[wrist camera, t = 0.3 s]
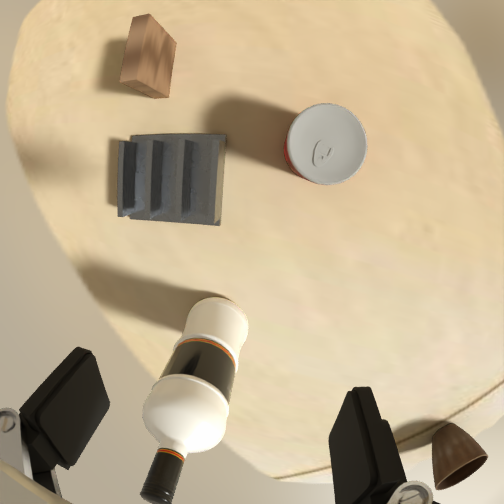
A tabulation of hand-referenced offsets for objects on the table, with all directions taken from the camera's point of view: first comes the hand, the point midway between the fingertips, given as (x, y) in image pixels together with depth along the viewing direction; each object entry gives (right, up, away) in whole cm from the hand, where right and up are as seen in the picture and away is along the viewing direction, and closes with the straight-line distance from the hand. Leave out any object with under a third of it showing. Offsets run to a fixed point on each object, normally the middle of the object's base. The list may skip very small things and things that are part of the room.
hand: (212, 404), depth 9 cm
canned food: (+9, +19, +25) cm, 33 cm away
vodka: (-4, -5, +34) cm, 34 cm away
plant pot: (+52, -42, +40) cm, 79 cm away
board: (-11, +31, +23) cm, 40 cm away
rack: (-9, +15, +28) cm, 33 cm away
